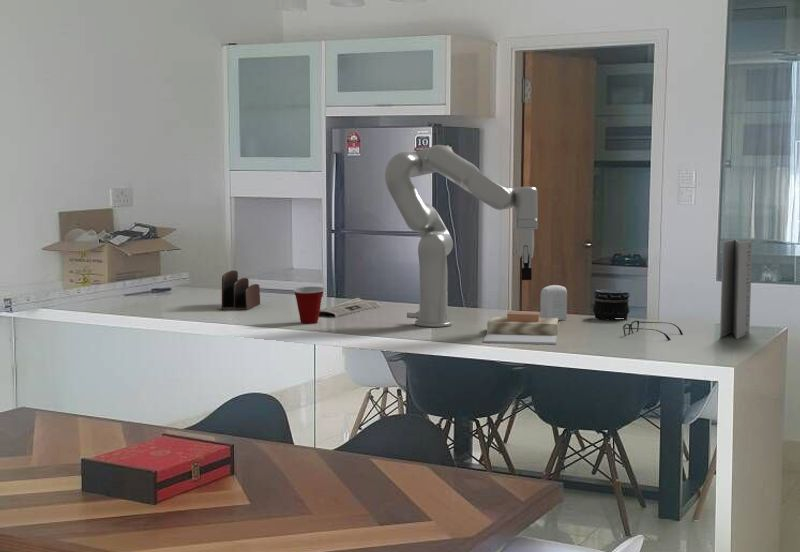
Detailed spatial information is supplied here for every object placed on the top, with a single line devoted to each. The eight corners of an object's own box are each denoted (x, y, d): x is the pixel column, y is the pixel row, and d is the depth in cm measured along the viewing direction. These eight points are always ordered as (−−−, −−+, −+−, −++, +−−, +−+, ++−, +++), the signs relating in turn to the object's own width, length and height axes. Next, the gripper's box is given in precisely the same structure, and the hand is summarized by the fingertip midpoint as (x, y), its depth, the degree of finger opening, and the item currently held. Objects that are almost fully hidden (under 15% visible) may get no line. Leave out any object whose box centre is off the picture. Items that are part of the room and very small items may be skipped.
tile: (507, 321, 343) (507, 313, 343) (508, 318, 350) (508, 311, 350) (538, 322, 342) (538, 314, 341) (539, 319, 349) (539, 311, 348)
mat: (483, 342, 326) (483, 340, 325) (486, 335, 339) (486, 333, 339) (556, 344, 322) (556, 342, 322) (557, 337, 336) (557, 335, 336)
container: (613, 315, 388) (614, 288, 387) (637, 319, 377) (637, 291, 376) (585, 317, 382) (585, 289, 381) (607, 322, 371) (608, 293, 370)
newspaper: (335, 319, 382) (335, 309, 381) (306, 317, 387) (306, 307, 387) (382, 308, 413) (382, 298, 412) (354, 306, 419) (354, 297, 418)
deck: (487, 335, 341) (487, 322, 340) (490, 328, 354) (490, 316, 354) (557, 336, 337) (557, 324, 337) (557, 330, 351) (558, 318, 351)
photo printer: (560, 318, 379) (560, 283, 378) (568, 320, 376) (569, 284, 375) (538, 320, 374) (538, 285, 373) (546, 322, 370) (546, 286, 369)
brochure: (737, 338, 333) (740, 242, 330) (719, 337, 336) (722, 241, 333) (749, 332, 345) (752, 240, 342) (732, 331, 348) (734, 239, 345)
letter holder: (221, 310, 403) (220, 273, 401) (236, 304, 422) (235, 268, 421) (247, 311, 402) (246, 273, 400) (260, 304, 421) (260, 268, 420)
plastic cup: (287, 324, 366) (287, 289, 365) (302, 319, 376) (301, 285, 375) (316, 325, 362) (315, 290, 361) (329, 321, 372) (329, 287, 371)
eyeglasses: (637, 331, 351) (637, 319, 351) (685, 335, 343) (685, 322, 343) (620, 338, 337) (620, 325, 337) (669, 342, 329) (670, 329, 329)
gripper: (516, 223, 360) (516, 277, 362) (513, 225, 346) (514, 282, 347) (538, 223, 359) (538, 277, 361) (536, 225, 344) (537, 282, 346)
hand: (526, 279), depth 354 cm, fingers closed
